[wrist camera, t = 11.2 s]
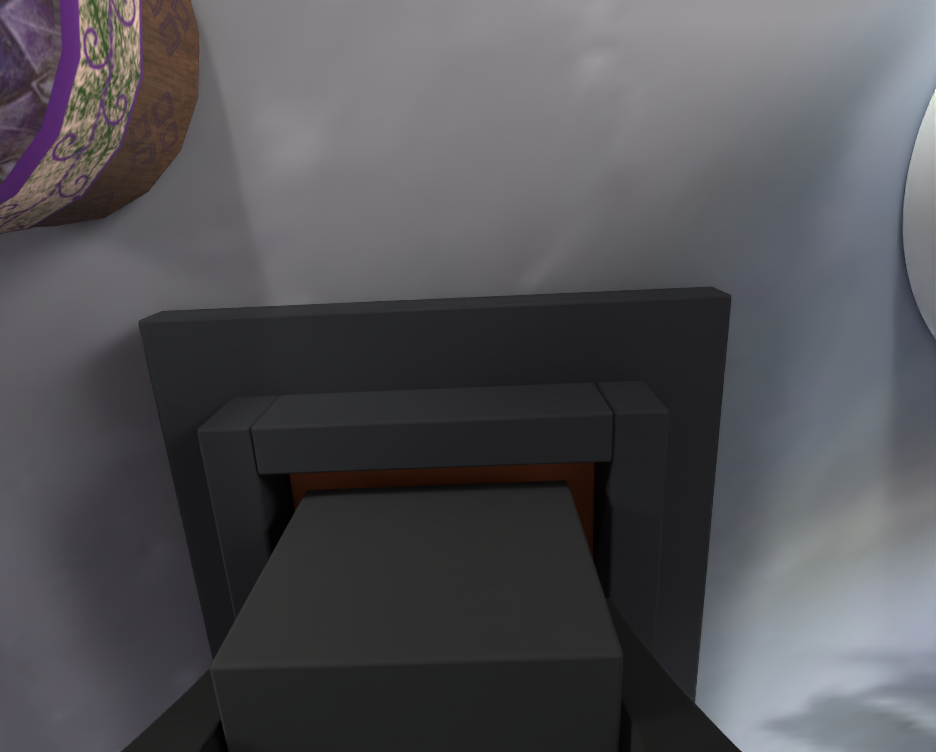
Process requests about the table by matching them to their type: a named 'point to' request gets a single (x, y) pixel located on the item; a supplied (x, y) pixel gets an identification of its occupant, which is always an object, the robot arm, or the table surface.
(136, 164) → the mug
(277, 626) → the black block
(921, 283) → the tall pillar cylinder
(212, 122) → the table surface
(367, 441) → the base pad
